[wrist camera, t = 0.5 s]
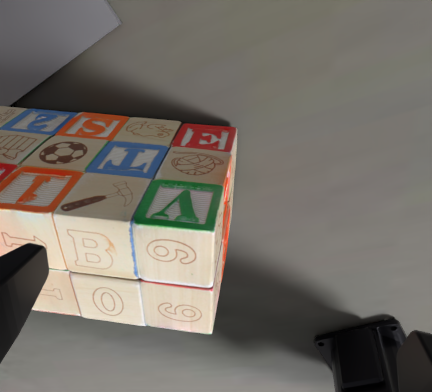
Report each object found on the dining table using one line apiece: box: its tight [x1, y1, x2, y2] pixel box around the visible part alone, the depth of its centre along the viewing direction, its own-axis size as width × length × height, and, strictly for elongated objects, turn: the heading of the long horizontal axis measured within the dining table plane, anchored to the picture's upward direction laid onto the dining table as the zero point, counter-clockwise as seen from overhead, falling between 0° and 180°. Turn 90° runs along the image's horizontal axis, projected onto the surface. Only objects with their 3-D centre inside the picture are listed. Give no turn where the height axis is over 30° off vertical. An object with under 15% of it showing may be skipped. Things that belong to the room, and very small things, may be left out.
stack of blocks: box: [0, 106, 237, 334], centre depth 18 cm, size 21×6×12 cm, turn 88°
